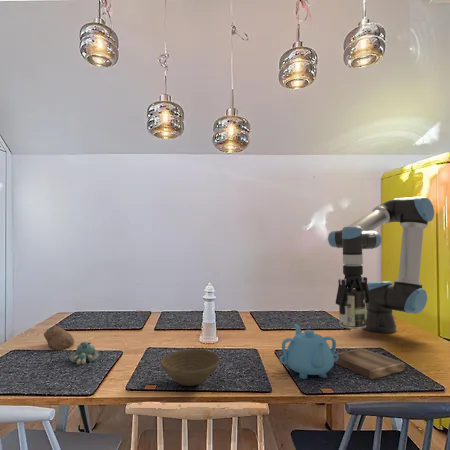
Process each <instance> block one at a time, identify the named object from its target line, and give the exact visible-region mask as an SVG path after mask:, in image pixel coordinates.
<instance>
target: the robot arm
mask: <svg viewBox="0 0 450 450" xmlns="http://www.w3.org/2000/svg"><path fill="white" fill-rule="evenodd" d="M434 218H435V209H434V205H433V203H432V201H431V200H430V199H429V198H428V197H426V196H412V197H399V198H397V197H396V198H393V199H389V200H387V201H385V202H383V203H381V204H379V205H377V206H375V207H373V209H371V212H369V213H368V214H366V215H365V216H362V217H361V218H359V219H358V220H356V221H354V222H353V223H351V224H349V225H347V226H344V227H342V229H340V230H333V231H331V232H329V234H328V237H327V241H328V244H329V246H330V247H332V248H337V249H342V274H343V276H344V278H343V279H340V278H339V279H338V280H337V281H338V287H337V291H336V299H335V301H334V302H335V303H334V304H335V305H337V306H338V307H339V306H340V314H341V322H344V323H348V317H347V306H346V303H347V300H348V295H347V294H346V295H344V292H347V293H350V292H351V291H352V289H356V290H358V291H363V290H364V291H365V313H366V327H365V328H363V329H364V330H367V331H370V332H375V333H380V334H381V333H382V334H384V333H386V334H390V333H395V332H397V328H398V327H397V323H396V321H395V318H394V315H393V311H396V312H401V313H406V314H414V315H417V314H421V312H423V310H424V309H425V308H426V306H427V301H428V293H427V291H426V289H424V288H423V284H422V283H421V281H420V275H421V274H420V272H421V260H422V249H423V238H424V230H425V229H426V228H427V227H428V224H429V222H431V221H432V220H433V219H434ZM389 223H399V225H400V226H401V228H402V235H401V245H400V256H399V265H398V267H399V268H398V276H397V279H395V280H394V281H393V282H392V281H391V280H384V281H371V282H368V277H367V276H366V277H365V276H362V275H363V274H364V271H363V270H364V269H363V268H364V267H363V266H362V265H363V264H364V263H363V261H364V260H363V250H369V249H370V250H373V249H377V248H378V247H380V246H381V244H382V236H381V234H380V233H379V232H378V231H376V230H375V229H377V228H378V227H380V226H385V225H387V224H389Z"/></svg>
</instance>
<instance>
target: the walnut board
mask: <svg viewBox="0 0 450 450" xmlns="http://www.w3.org/2000/svg"><path fill="white" fill-rule="evenodd" d="M335 354H337V355H338V360H337V361H336V362H334V364H336V365H338V366H340V365H341V367H342V368H346V369H347V368H348V370H350V371H352V372H354V373H357V374H359V375H361V376H364V377H366V378H369V379H371V380H375V379H379V378H382V377H385V376H389V375H393V374H397V373H400V372H403V371H405V370H406V369H405V366H406V364H405V362H402V361H401V360H397V359H395V358H393V357H392V358H391V357H389V356H386V355H383V354H381V353H377V352H374V351H372V350H369V349H366V348H363V347H362V348H361V347H360V348H355V349H351V350H346V351H342V352H341V351H340V352H337V353H335ZM335 357H336V356H334V357H333V358H335Z"/></svg>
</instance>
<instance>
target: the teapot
mask: <svg viewBox="0 0 450 450" xmlns="http://www.w3.org/2000/svg"><path fill="white" fill-rule="evenodd" d="M294 327H295V335H294V336H293V338H291V337H289V338H288V337H287V338H286V339H284V340H283V341H282V342H281V349H282V355H281V356H280V357H279V362H280V363H281V364H283V365H286V364H287V366H288V367H289V368H290V369H291V370H292V371H293V372H296V373H298V378H299V379H301V378H302V380H306V378H307V379H308V375H309V376H310V375H311V376H316V375H317V376H318V377H320V378H321V379H323V378H325V379H326V378H328V375H327V373H328V372H329V371H330V370H332V368H333V367H334V364H335V363H334V362H336V361H337V360H338V355H337V354H336V353H335V352H336V348H337V340H335V338H333V337H331V336H323V335H320V334H319V333H315V330H312V329H305V330H304V332H302V329H301V327H300V324H298V323H294ZM327 341H331V342H332V346H331V347H330V345H329V344H328V342H327ZM288 342H289V344H288V346H287V348H286V344H287V343H288ZM334 356H336V357H335V358H333V357H334ZM283 358H284V359H283Z"/></svg>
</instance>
